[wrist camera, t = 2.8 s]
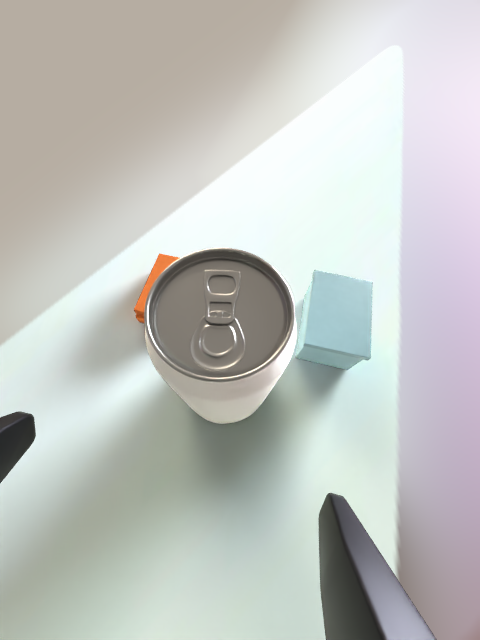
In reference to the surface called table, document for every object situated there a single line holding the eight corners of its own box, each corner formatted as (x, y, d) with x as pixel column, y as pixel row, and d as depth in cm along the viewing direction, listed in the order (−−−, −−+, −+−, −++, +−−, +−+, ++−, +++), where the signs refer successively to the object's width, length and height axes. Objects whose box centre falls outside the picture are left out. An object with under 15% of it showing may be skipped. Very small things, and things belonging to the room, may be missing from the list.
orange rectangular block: (176, 330, 23) (171, 321, 21) (138, 322, 23) (131, 311, 21) (197, 272, 25) (194, 259, 23) (163, 265, 25) (158, 252, 24)
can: (178, 423, 20) (113, 392, 9) (188, 339, 22) (147, 235, 11) (268, 426, 20) (315, 398, 9) (266, 341, 22) (300, 242, 12)
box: (349, 372, 22) (370, 358, 18) (293, 359, 22) (304, 343, 19) (353, 304, 24) (372, 281, 21) (303, 293, 25) (314, 269, 21)
